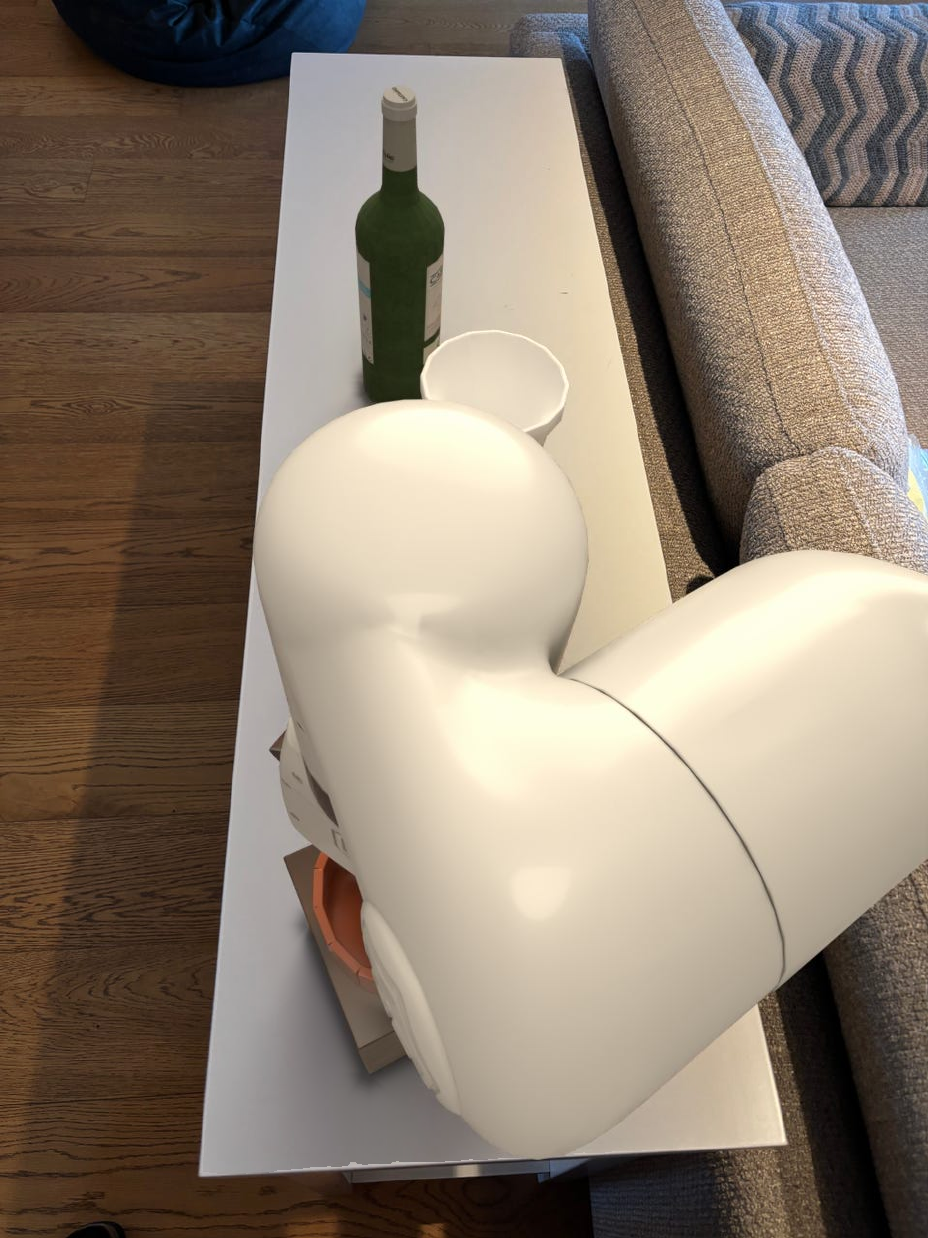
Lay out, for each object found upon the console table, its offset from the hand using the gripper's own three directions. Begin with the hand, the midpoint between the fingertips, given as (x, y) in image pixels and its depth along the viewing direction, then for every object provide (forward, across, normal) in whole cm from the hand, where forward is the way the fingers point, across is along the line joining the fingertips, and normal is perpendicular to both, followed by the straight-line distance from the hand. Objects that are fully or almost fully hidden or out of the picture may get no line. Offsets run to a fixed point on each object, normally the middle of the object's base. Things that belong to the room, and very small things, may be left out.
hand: (412, 878), depth 44 cm
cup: (+23, -19, +39) cm, 49 cm away
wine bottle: (+23, -34, +46) cm, 62 cm away
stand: (+22, 0, 0) cm, 22 cm away
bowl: (+5, 0, 0) cm, 5 cm away
